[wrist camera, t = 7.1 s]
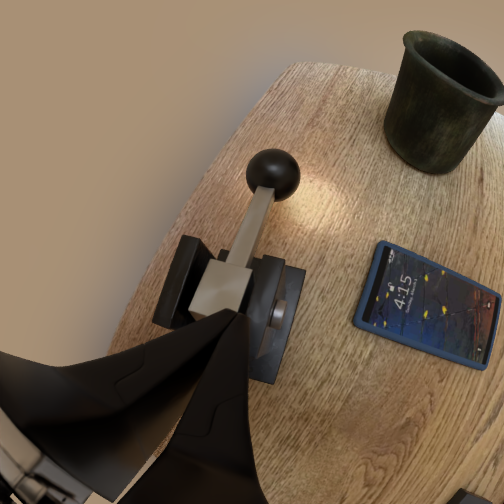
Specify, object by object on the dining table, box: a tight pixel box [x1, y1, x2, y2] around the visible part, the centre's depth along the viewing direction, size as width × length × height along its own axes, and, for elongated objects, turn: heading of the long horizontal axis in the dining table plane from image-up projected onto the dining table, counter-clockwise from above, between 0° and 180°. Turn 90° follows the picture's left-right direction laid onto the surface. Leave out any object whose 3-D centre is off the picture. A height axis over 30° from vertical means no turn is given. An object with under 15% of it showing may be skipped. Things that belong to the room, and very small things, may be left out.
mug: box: [384, 31, 504, 174], centre depth 20 cm, size 11×15×12 cm
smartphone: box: [353, 241, 502, 371], centre depth 19 cm, size 8×1×15 cm
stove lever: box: [188, 149, 300, 321], centre depth 16 cm, size 12×4×4 cm, turn 163°
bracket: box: [152, 235, 306, 385], centre depth 17 cm, size 9×7×10 cm
